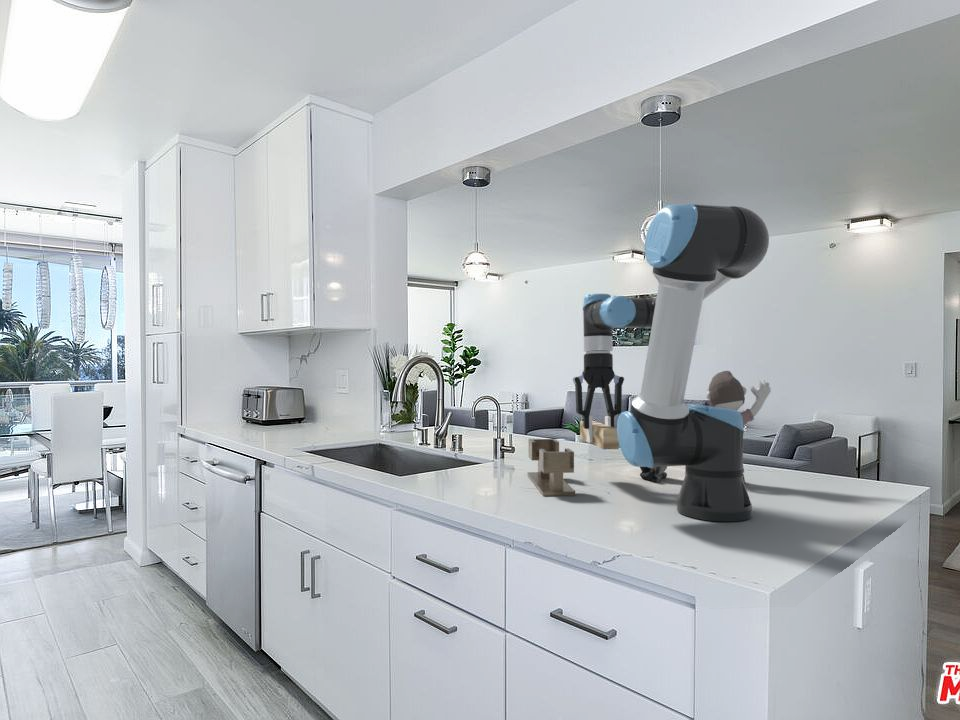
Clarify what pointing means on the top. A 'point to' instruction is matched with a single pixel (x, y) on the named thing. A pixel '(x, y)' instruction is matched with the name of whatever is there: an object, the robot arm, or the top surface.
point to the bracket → (551, 467)
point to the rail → (601, 435)
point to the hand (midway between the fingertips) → (598, 441)
